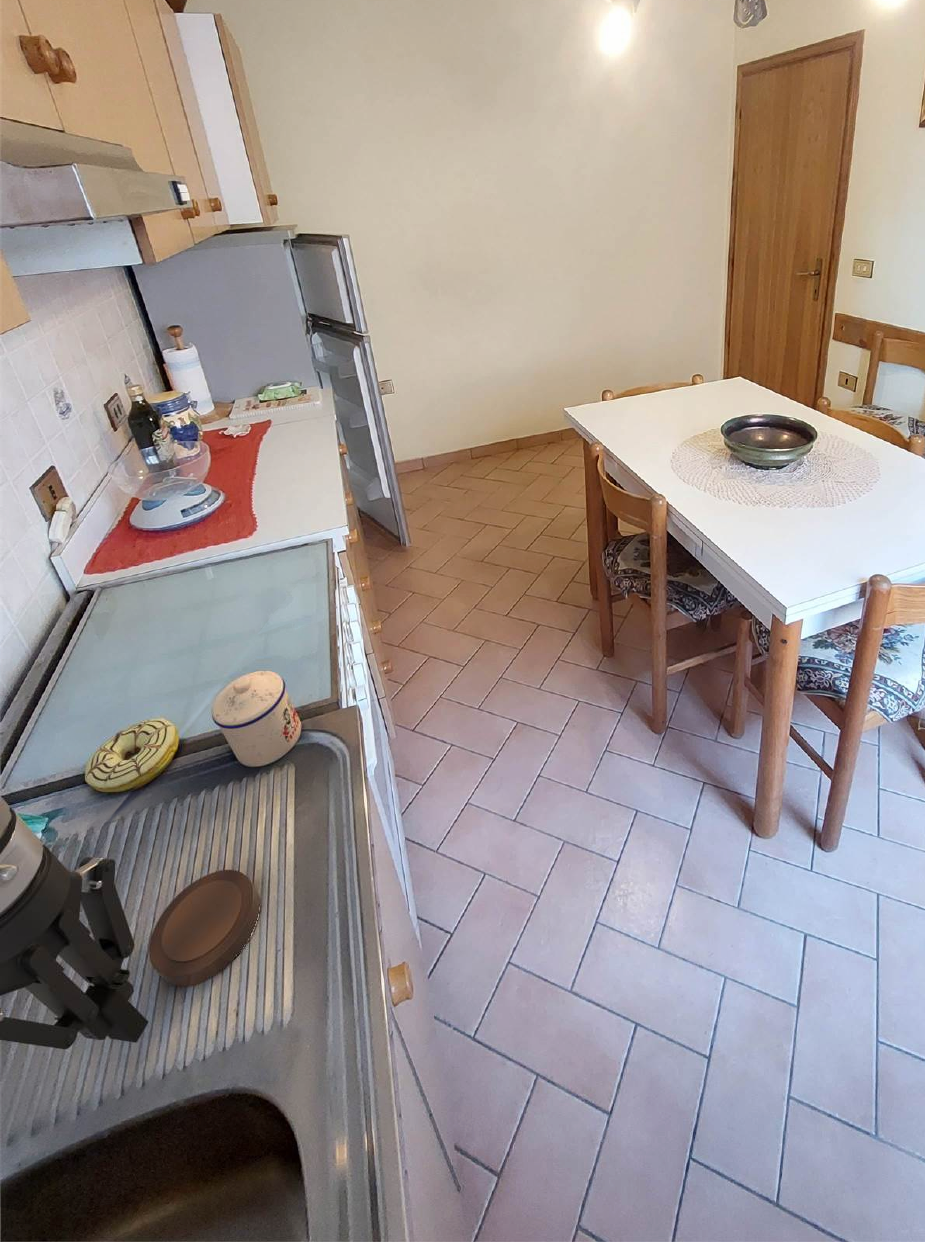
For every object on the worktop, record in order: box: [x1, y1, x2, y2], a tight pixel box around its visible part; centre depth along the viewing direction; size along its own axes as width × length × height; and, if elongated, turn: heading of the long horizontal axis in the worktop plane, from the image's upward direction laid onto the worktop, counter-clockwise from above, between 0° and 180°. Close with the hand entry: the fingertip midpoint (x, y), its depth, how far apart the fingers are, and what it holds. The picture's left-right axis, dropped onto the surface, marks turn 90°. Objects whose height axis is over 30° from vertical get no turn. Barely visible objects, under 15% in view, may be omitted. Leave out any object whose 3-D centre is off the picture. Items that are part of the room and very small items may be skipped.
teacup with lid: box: [211, 670, 302, 768], centre depth 85 cm, size 12×9×12 cm
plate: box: [148, 869, 261, 988], centre depth 66 cm, size 10×10×2 cm
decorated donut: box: [84, 717, 180, 793], centre depth 85 cm, size 10×11×4 cm
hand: (129, 1030), depth 56 cm, fingers closed
